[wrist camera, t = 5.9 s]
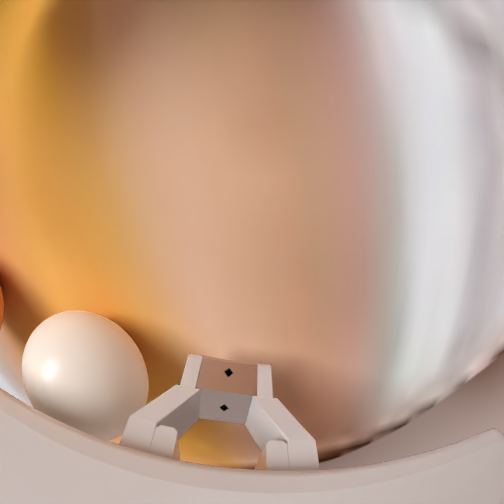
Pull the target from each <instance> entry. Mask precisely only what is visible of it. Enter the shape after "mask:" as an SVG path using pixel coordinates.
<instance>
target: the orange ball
mask: <svg viewBox="0 0 504 504" xmlns="http://www.w3.org/2000/svg"><path fill="white" fill-rule="evenodd" d="M3 315H4V298H3V293H2V288H1V285H0V329H1V325H2V322H3Z"/></svg>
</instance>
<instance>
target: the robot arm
mask: <svg viewBox="0 0 504 504" xmlns="http://www.w3.org/2000/svg"><path fill="white" fill-rule="evenodd" d="M199 418H201V419H208V420H216V421H224V422H231V423H238V424H245V426H246V428H247V430H248V431H249V433H250V434H251V436H252V438H253V439H254V441H255V442H256V444H257V445H258V447H259V449H260V450H261V452H262V454H261V456H260V458H259V460H258V462H257V464H256V467H255V469H254V470H250V469H238V468H227V467H219V466H211V465H204V464H198V463H192V462H186V461H181V460H180V452H179V442H178V439H179V438H180V437H181V436H182V435H183V434H185V433H186V432H187V431H188V430H189V429H190V428H191V427H192V426H193V425H194V424H195V423H196V422H197V421H198V420H199ZM0 504H504V433H502V432H501V431H499V430H496V429H489V430H486V431H484V432H482V433H479V434H477V435H474V436H472V437H469V438H467V439H464V440H462V441H459V442H456V443H453V444H450V445H447V446H444V447H441V448H438V449H435V450H431V451H428V452H424V453H420V454H416V455H413V456H408V457H404V458H400V459H395V460H390V461H385V462H380V463H375V464H368V465H361V466H355V467H346V468H336V469H324V470H320V468H319V461H318V454H317V447H316V441H315V439H314V438H313V437H312V436H311V435H310V434H309V433H308V432H307V431H306V430H305V429H304V427H303V426H302V425H301V424H300V423H299V422H298V421H297V420H296V419H295V418H294V416H293V415H292V414H291V413H290V412H289V411H288V410H287V409H286V407H285V406H284V405H283V404H282V403H281V402H280V401H279V399H278V398H273V384H272V367H271V365H270V364H259V363H257V364H256V363H249V362H240V361H232V360H224V359H219V358H213V357H207V356H201V355H196V354H191V353H190V354H189V355H188V358H187V362H186V365H185V369H184V372H183V376H182V379H181V383H180V385H174V386H173V387H172V388H170V389H169V390H167V391H166V392H164V393H163V394H162V395H160V396H159V397H157V398H156V399H154V400H153V401H151V402H150V403H148V404H147V405H145V406H144V407H142V408H141V409H139V410H138V411H136V412H135V413H133V414H132V415H130V417H129V419H128V422H127V425H126V427H125V430H124V433H123V435H122V438H121V441H120V443H119V444H116V443H113V442H110V441H107V440H104V439H102V438H99V437H96V436H94V435H91V434H88V433H86V432H83V431H81V430H79V429H76V428H74V427H71V426H69V425H67V424H65V423H63V422H60V421H58V420H56V419H54V418H52V417H50V416H48V415H46V414H44V413H42V412H40V411H38V410H36V409H35V408H33V407H31V406H29V405H27V404H26V403H24V402H22V401H20V400H19V399H17V398H15V397H14V396H12V395H10V394H9V393H7V392H6V391H4V390H2V389H1V388H0Z"/></svg>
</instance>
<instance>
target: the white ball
mask: <svg viewBox="0 0 504 504" xmlns="http://www.w3.org/2000/svg"><path fill="white" fill-rule="evenodd" d="M22 376H23V382H24V386H25V389H26V392H27V395H28V397H29V399H30V401H31V403H32V405H33V407H34V408H35V409H36V410H38V411H40V412H42V413H44V414H46V415H48V416H50V417H52V418H54V419H56V420H58V421H60V422H63V423H65V424H67V425H69V426H71V427H74V428H76V429H79V430H81V431H83V432H86V433H88V434H91V435H94V436H96V437H99V438H102V439H104V440H107V441H109V440H112V439H115V438H118V437H120V436H121V435H123V433H124V430H125V427H126V425H127V422H128V419H129V417H130V415H132V414H133V413H135V412H136V411H138V410H139V409H141V408H142V407H144V406H145V405H146V402H147V399H148V391H149V379H148V373H147V368H146V365H145V362H144V359H143V356H142V354H141V352H140V350H139V349H138V347H137V345H136V344H135V342H134V341H133V340H132V338H131V337H130V336H129V335H128V334H127V333H126V332H125V331H124V330H123V329H122V328H121V327H120V326H119V325H117V324H116V323H115V322H113V321H111V320H110V319H108V318H106V317H104V316H102V315H99V314H96V313H93V312H89V311H83V310H70V311H64V312H61V313H57V314H55V315H53V316H51V317H49V318H47V319H46V320H44V321H43V322H42V323H41V324H39V325H38V326H37V328H36V329H35V330H34V331H33V333H32V334H31V335H30V337H29V339H28V341H27V343H26V346H25V349H24V353H23V358H22Z"/></svg>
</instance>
